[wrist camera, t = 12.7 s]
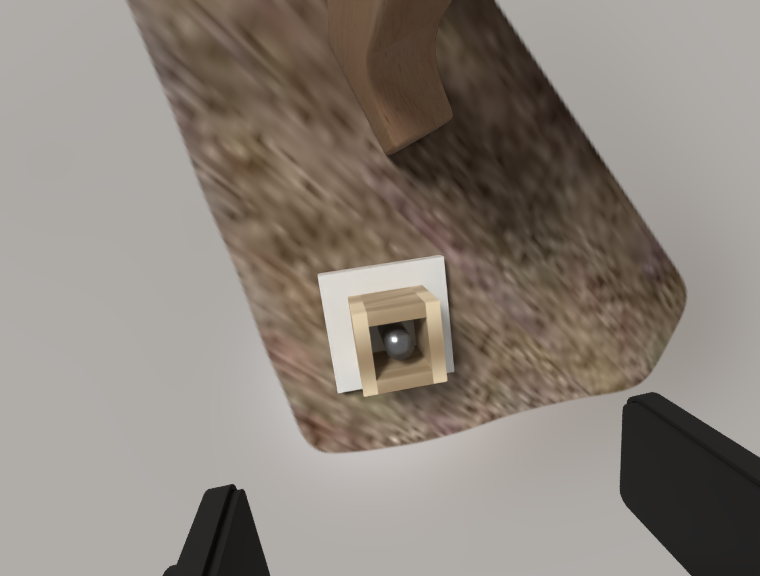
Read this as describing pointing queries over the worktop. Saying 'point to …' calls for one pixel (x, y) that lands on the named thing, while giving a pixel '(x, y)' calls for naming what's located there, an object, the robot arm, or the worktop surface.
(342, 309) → the pin plate
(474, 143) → the worktop surface
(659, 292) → the worktop surface
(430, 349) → the maple collar
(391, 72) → the wooden block
